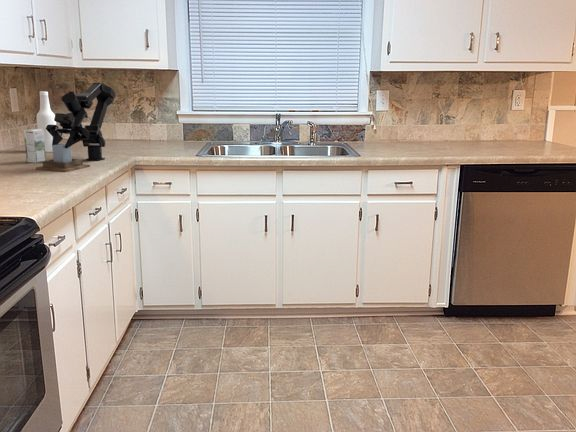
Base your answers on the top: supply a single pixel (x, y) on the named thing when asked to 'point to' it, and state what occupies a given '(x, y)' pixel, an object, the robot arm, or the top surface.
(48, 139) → the alcohol
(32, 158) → the syrup box
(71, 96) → the robot arm
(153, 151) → the top surface
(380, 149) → the top surface
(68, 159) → the block
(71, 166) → the cradle
